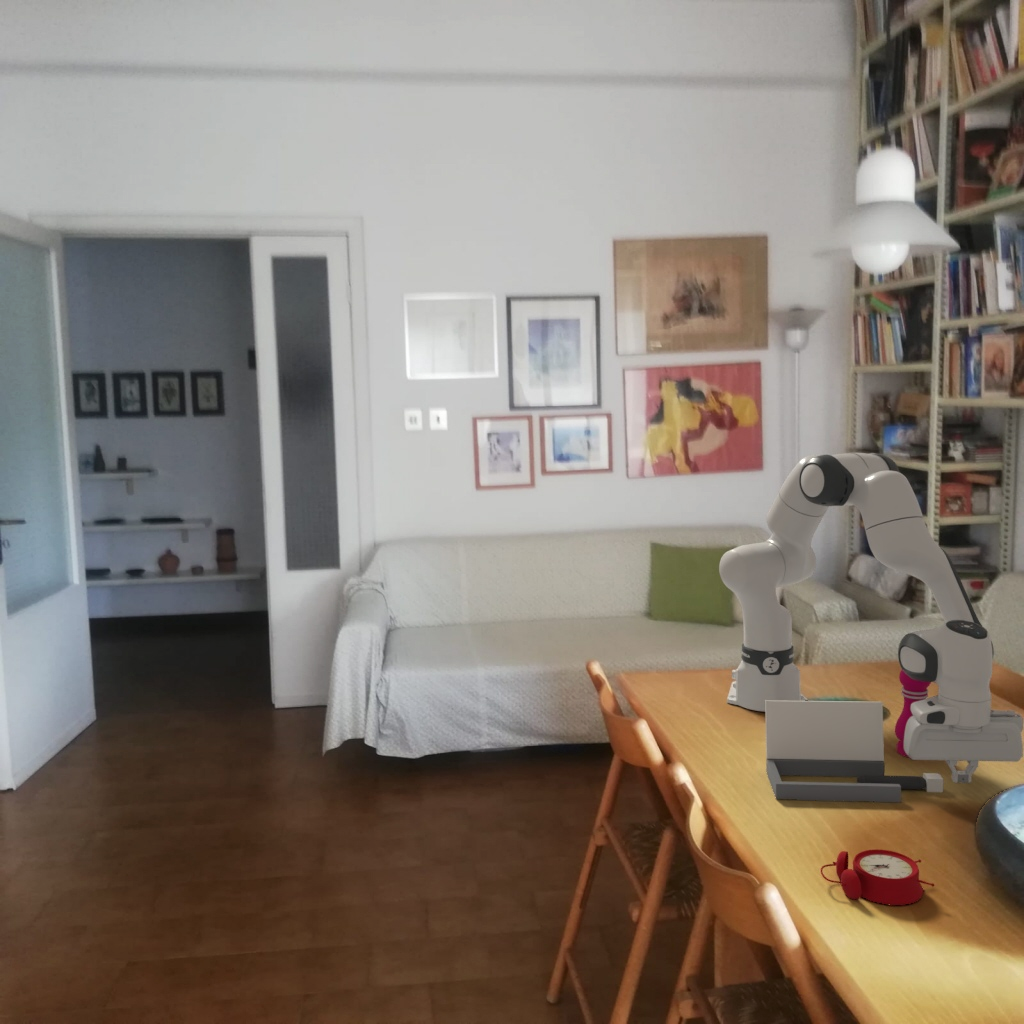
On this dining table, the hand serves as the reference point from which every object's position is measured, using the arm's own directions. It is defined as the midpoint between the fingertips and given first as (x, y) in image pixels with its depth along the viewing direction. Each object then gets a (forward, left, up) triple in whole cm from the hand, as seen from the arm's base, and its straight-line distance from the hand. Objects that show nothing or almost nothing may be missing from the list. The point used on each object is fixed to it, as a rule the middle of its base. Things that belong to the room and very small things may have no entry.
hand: (961, 781), depth 177 cm
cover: (-6, -24, +7) cm, 25 cm away
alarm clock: (+37, -25, -2) cm, 44 cm away
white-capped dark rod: (0, -11, -2) cm, 11 cm away
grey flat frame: (0, -23, -2) cm, 24 cm away
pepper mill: (-18, -3, -2) cm, 18 cm away
